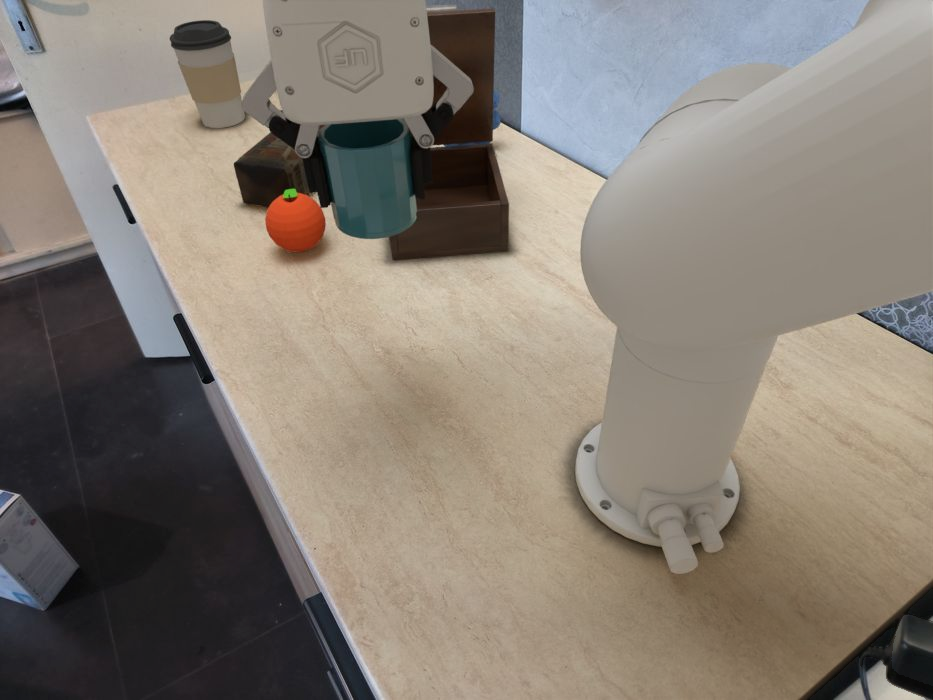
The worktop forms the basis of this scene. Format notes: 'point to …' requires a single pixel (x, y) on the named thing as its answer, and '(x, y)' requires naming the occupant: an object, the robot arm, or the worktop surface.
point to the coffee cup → (209, 71)
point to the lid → (466, 68)
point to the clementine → (295, 221)
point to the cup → (369, 177)
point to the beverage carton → (270, 171)
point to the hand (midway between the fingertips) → (373, 193)
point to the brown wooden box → (458, 207)
